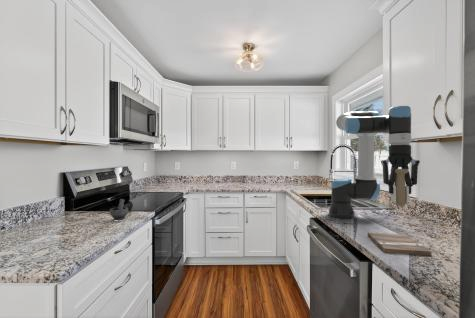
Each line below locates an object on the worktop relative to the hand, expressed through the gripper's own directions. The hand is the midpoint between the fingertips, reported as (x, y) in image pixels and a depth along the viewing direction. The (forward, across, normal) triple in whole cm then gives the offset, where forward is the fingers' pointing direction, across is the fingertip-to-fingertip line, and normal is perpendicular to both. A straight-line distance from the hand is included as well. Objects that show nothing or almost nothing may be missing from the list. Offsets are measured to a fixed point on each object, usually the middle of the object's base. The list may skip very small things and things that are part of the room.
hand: (399, 201), depth 97 cm
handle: (+2, 0, 0) cm, 2 cm away
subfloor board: (+19, 0, +4) cm, 19 cm away
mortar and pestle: (+19, -145, +17) cm, 147 cm away
